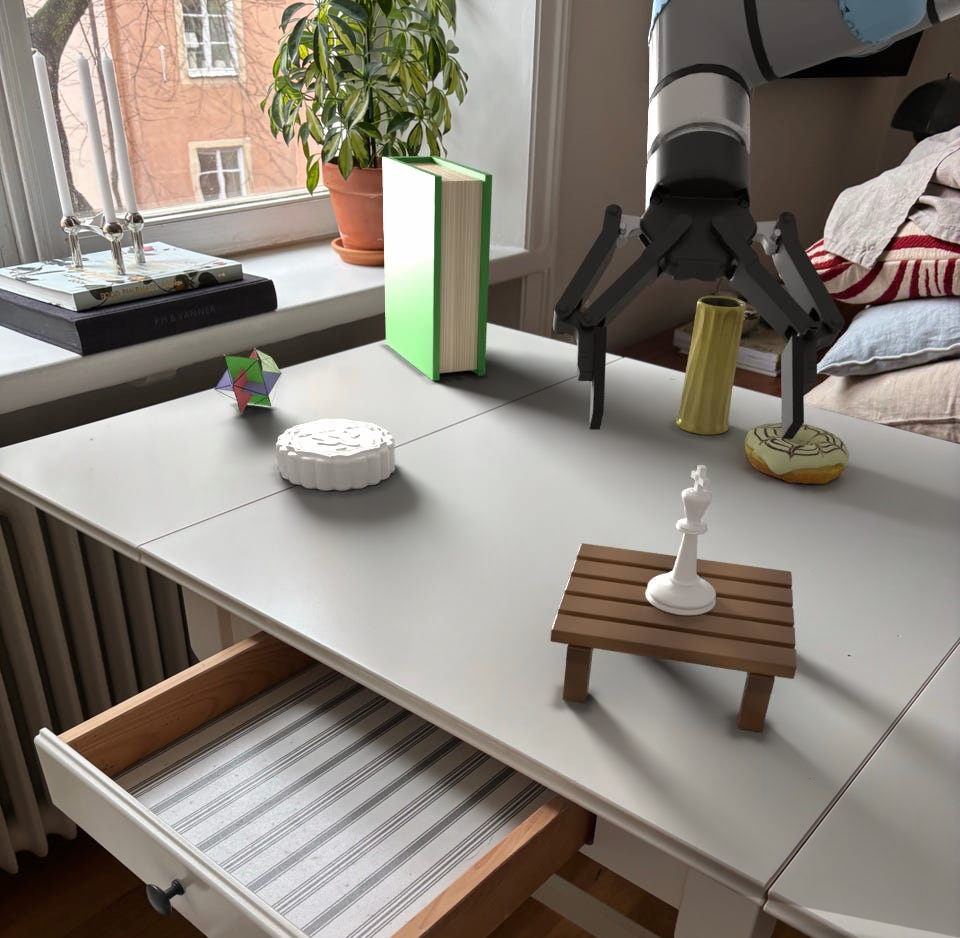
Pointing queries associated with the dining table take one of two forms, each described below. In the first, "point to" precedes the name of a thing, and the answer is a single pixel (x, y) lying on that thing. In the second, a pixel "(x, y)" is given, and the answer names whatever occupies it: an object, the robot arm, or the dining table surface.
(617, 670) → the dining table surface
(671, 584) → the chess piece
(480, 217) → the hardback book
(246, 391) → the geometric puzzle
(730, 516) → the dining table surface
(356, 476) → the mooncake
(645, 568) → the bench
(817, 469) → the decorated donut
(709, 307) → the vase
